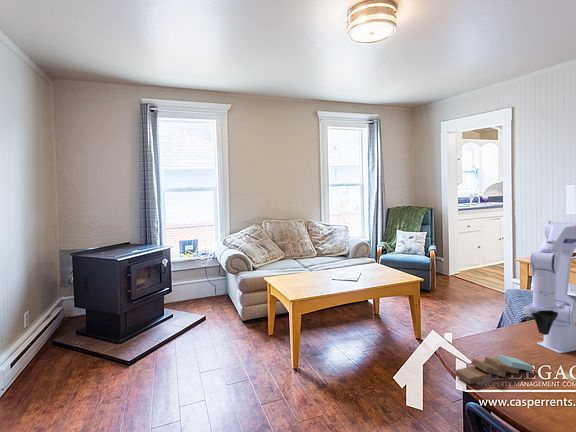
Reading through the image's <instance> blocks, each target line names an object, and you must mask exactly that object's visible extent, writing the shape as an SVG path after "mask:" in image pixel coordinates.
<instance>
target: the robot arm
mask: <svg viewBox="0 0 576 432" xmlns="http://www.w3.org/2000/svg"><path fill="white" fill-rule="evenodd" d="M544 235H545V238H546V240H543V241H542V242H541V244H540V246H539V248H538V250H537V251H535V252H534V253H531V256H530V258H529V259H530V261H529V262H530V264H529V265H530V269H531V270H530V271H531V276H532V302H531V303H529V304H527V305H525V306H523V307H522V313H523V314H525V315H529V316H530V315H531V316H532V317H533V319H534V321H535V324H536V327H537V331H538V333H539V334H542V335H543V341H538V342H537V343H536V345H539V346H541V347H543V348H545V349H548V350H551V351H553V352H555V353H557V354H563V353H569V352H573V351H574V352H575V351H576V325H575V324H576V301H575V300H574V299H573V298H572V297H570V295H568V294H569V293H568V292H569V286H570V285H569V283H570V275H571V266H572V259H573V258H572V257H573V254H574V251H575V250H576V221H553V220H552V221H551V220H548V221H547V222H546V223H545V225H544Z"/></svg>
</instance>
